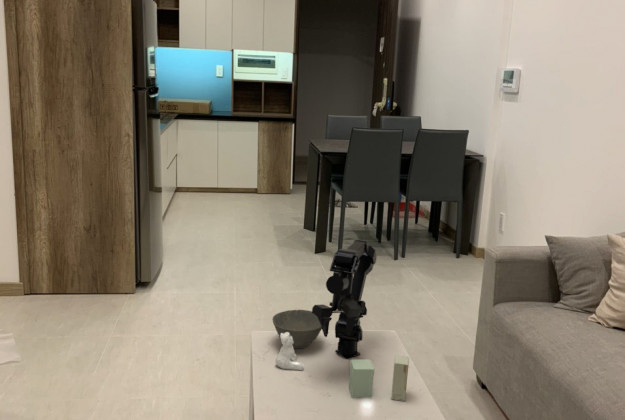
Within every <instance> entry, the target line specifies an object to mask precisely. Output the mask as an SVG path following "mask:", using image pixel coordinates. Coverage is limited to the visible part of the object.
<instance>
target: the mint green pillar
mask: <svg viewBox="0 0 625 420" xmlns="http://www.w3.org/2000/svg"><path fill="white" fill-rule="evenodd" d="M349 367H350V368H349V379H348V380H349V382H348V390H349V393H350V395H351V396H350V397H351V398H354V399H355V398H356V399H357V398H359V399H360V398H365V399H366V398H368V399H371V398H372V397H373V388H374V387H373V386H374V375H375V368H374V365H373V363H372V361H371V359H350V366H349Z"/></svg>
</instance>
